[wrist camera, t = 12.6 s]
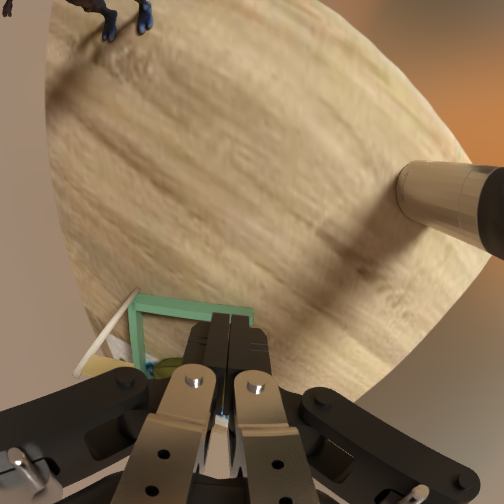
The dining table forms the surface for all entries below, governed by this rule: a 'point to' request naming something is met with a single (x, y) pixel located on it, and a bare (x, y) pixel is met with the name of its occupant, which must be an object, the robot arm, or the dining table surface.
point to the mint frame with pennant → (136, 304)
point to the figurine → (105, 14)
